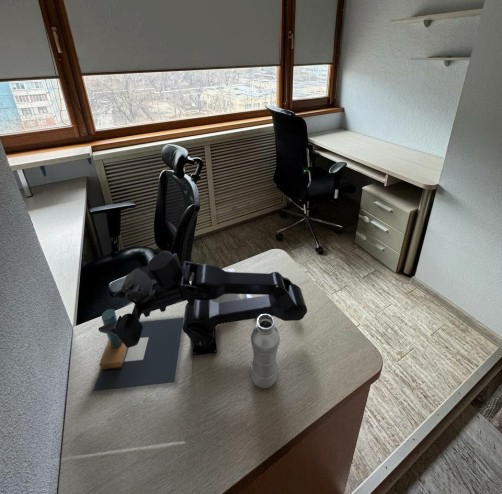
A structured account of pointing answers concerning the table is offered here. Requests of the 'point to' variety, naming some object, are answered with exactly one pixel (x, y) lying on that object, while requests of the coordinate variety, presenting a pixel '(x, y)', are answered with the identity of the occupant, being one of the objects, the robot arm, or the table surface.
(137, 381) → the desk mat
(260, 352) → the plastic bottle
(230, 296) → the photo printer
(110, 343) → the peg on wooden base
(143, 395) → the table surface
